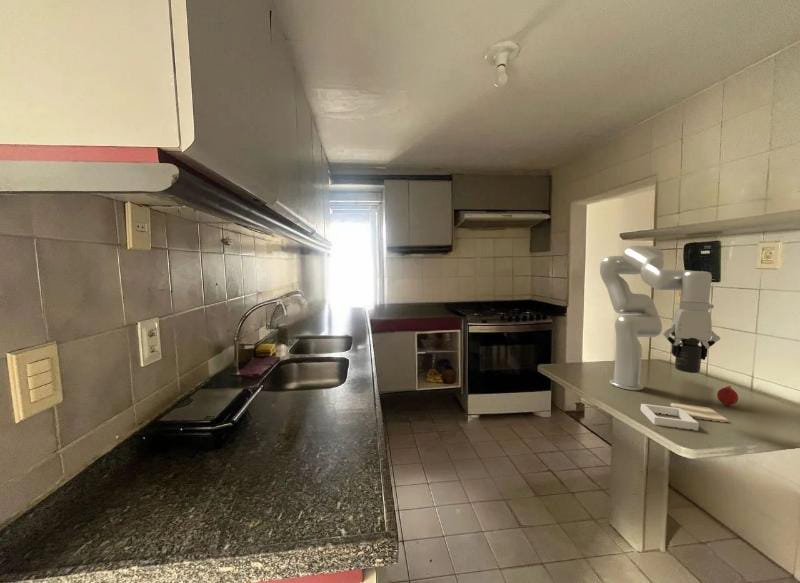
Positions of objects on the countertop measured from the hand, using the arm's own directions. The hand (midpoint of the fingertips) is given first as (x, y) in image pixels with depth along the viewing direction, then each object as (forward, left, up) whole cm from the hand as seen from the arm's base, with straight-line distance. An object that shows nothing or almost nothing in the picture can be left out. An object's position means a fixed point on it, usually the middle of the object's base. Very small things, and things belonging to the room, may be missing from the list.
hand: (688, 357), depth 118 cm
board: (-4, +6, -21) cm, 23 cm away
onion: (-17, +21, -21) cm, 35 cm away
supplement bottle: (0, 0, -5) cm, 5 cm away
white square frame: (+6, -7, -21) cm, 23 cm away
